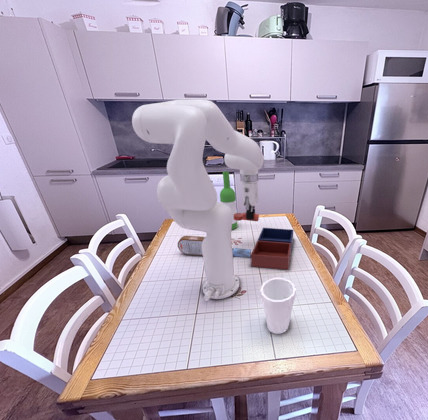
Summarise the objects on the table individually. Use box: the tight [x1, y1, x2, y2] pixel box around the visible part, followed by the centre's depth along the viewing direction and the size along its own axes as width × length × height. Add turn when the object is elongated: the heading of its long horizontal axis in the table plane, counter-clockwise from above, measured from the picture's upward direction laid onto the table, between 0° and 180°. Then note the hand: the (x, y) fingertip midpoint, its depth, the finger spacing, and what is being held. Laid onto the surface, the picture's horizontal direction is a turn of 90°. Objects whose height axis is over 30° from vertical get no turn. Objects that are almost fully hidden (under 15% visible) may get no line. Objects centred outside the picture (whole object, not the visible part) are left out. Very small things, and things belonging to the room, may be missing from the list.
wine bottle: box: [219, 170, 238, 231], centre depth 120 cm, size 8×8×30 cm
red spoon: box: [234, 212, 260, 222], centre depth 104 cm, size 11×4×3 cm, turn 83°
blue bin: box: [257, 227, 294, 251], centre depth 108 cm, size 11×15×6 cm
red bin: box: [250, 240, 292, 271], centre depth 97 cm, size 11×15×6 cm
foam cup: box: [260, 277, 297, 335], centre depth 66 cm, size 10×9×13 cm
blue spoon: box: [232, 247, 252, 258], centre depth 101 cm, size 11×4×3 cm, turn 82°
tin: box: [177, 235, 206, 257], centre depth 100 cm, size 15×3×8 cm, turn 84°
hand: (250, 218), depth 104 cm, fingers closed on red spoon, 2 cm apart
